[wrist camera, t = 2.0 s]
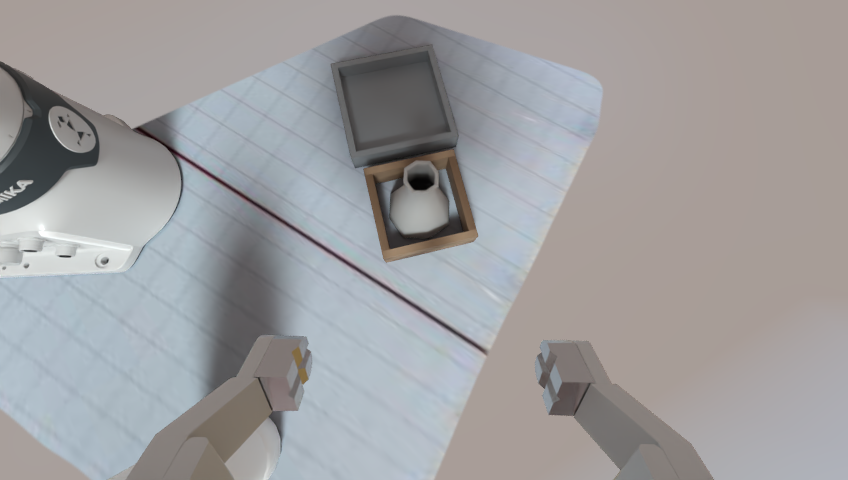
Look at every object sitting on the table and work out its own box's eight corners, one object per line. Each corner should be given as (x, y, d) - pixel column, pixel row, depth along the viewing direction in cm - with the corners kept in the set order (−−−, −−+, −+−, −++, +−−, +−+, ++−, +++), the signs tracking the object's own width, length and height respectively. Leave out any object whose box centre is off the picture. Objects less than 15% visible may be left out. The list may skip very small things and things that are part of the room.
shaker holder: (385, 262, 37) (383, 258, 34) (367, 179, 39) (363, 168, 36) (473, 241, 37) (478, 236, 34) (450, 160, 39) (453, 149, 36)
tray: (355, 168, 39) (351, 158, 36) (335, 78, 41) (330, 63, 39) (455, 146, 40) (458, 135, 37) (431, 59, 42) (432, 44, 40)
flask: (381, 190, 38) (369, 150, 29) (439, 173, 39) (448, 129, 29) (398, 248, 37) (392, 227, 27) (458, 230, 38) (474, 203, 28)
